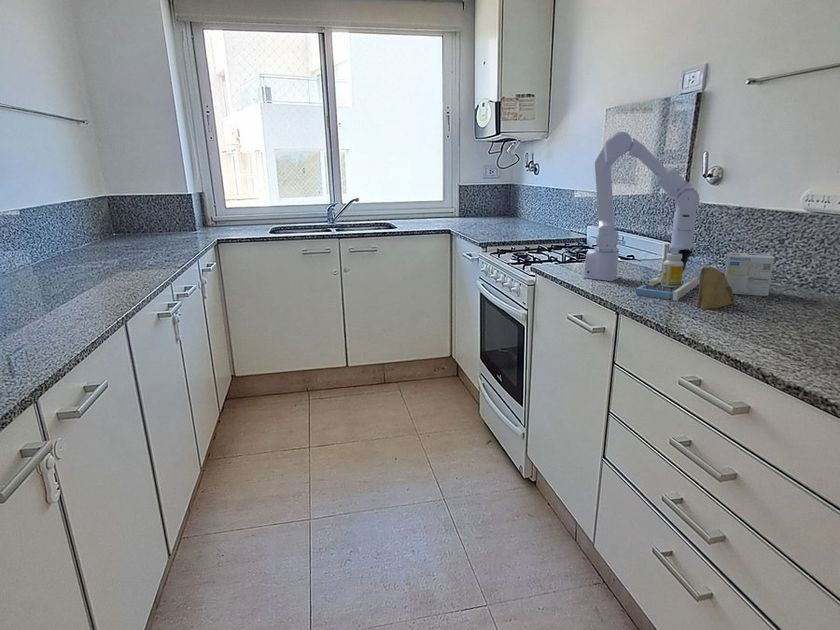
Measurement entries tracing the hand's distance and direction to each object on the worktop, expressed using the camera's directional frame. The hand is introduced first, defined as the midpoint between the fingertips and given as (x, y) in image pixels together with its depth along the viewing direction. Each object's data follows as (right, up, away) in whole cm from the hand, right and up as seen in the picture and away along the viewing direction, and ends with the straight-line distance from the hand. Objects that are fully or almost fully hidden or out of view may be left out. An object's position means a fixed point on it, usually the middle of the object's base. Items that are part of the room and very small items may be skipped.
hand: (677, 274), depth 154 cm
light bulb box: (+12, -6, -13) cm, 19 cm away
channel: (-8, -5, -8) cm, 13 cm away
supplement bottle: (-4, -4, -4) cm, 7 cm away
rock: (-3, -10, -25) cm, 27 cm away
